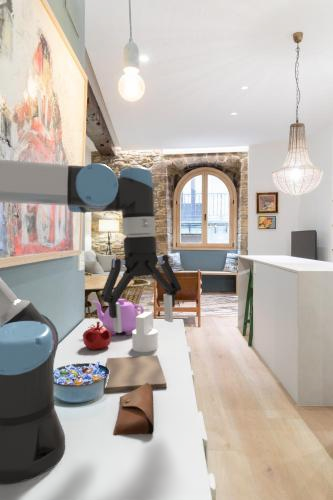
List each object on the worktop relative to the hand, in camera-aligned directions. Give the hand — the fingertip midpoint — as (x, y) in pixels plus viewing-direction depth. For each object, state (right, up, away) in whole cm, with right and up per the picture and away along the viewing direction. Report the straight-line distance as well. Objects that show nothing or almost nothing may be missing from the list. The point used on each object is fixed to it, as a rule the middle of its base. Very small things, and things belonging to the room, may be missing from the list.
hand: (144, 326), depth 83 cm
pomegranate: (-20, -17, +44) cm, 51 cm away
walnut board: (-4, -18, +19) cm, 27 cm away
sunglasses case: (-2, -20, -4) cm, 20 cm away
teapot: (-14, -16, +64) cm, 68 cm away
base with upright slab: (-2, -17, +43) cm, 46 cm away
